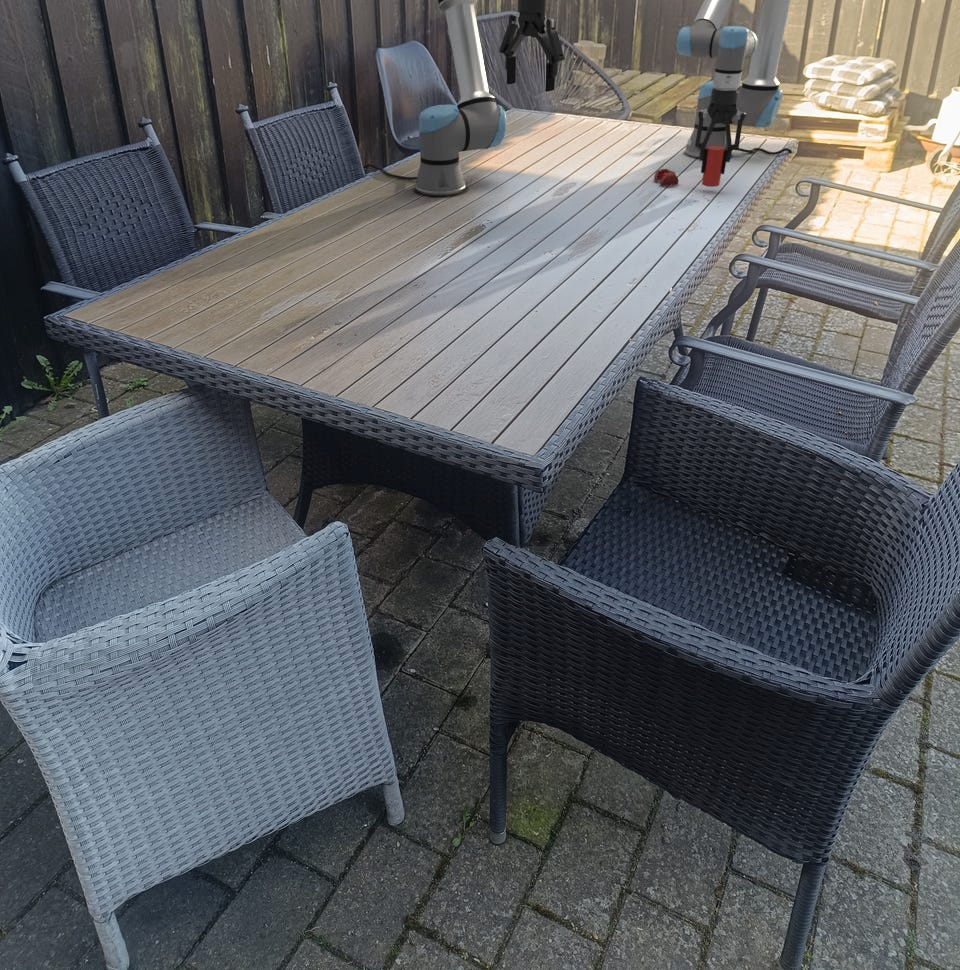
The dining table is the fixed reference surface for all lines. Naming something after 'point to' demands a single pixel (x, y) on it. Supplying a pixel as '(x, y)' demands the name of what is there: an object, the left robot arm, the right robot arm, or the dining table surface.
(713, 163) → the canister
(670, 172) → the red lumpy piece
